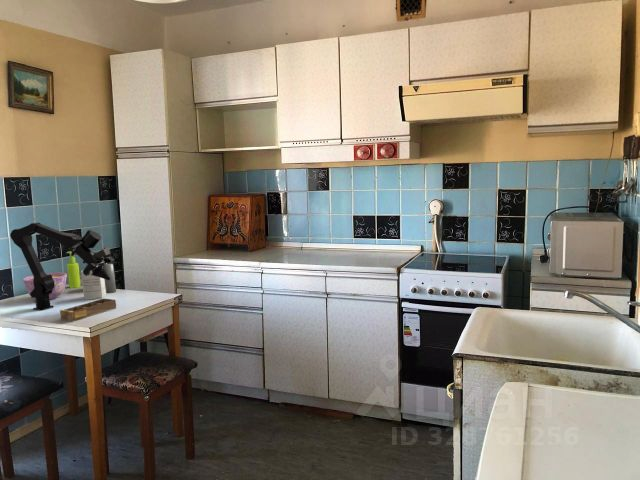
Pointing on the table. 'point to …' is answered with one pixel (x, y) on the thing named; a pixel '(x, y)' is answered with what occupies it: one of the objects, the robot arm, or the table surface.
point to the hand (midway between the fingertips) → (112, 278)
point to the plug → (110, 283)
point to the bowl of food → (59, 283)
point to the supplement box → (93, 287)
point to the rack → (87, 309)
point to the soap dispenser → (73, 273)
